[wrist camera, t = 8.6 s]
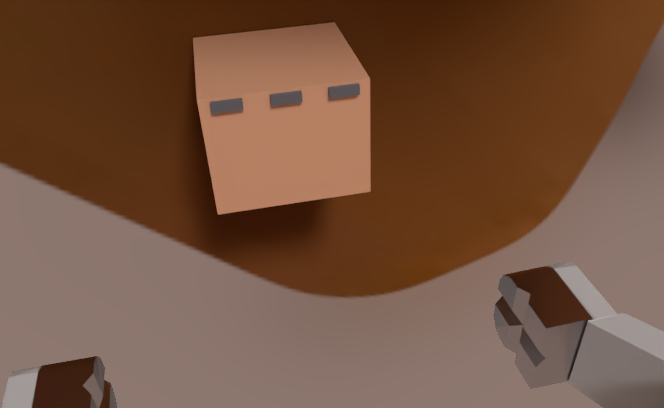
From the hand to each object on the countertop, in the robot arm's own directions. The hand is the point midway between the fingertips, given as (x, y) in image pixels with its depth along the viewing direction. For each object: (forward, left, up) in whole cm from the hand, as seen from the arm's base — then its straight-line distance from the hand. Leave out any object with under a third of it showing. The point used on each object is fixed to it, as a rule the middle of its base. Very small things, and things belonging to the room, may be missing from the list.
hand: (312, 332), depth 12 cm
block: (+1, 0, -13) cm, 13 cm away
